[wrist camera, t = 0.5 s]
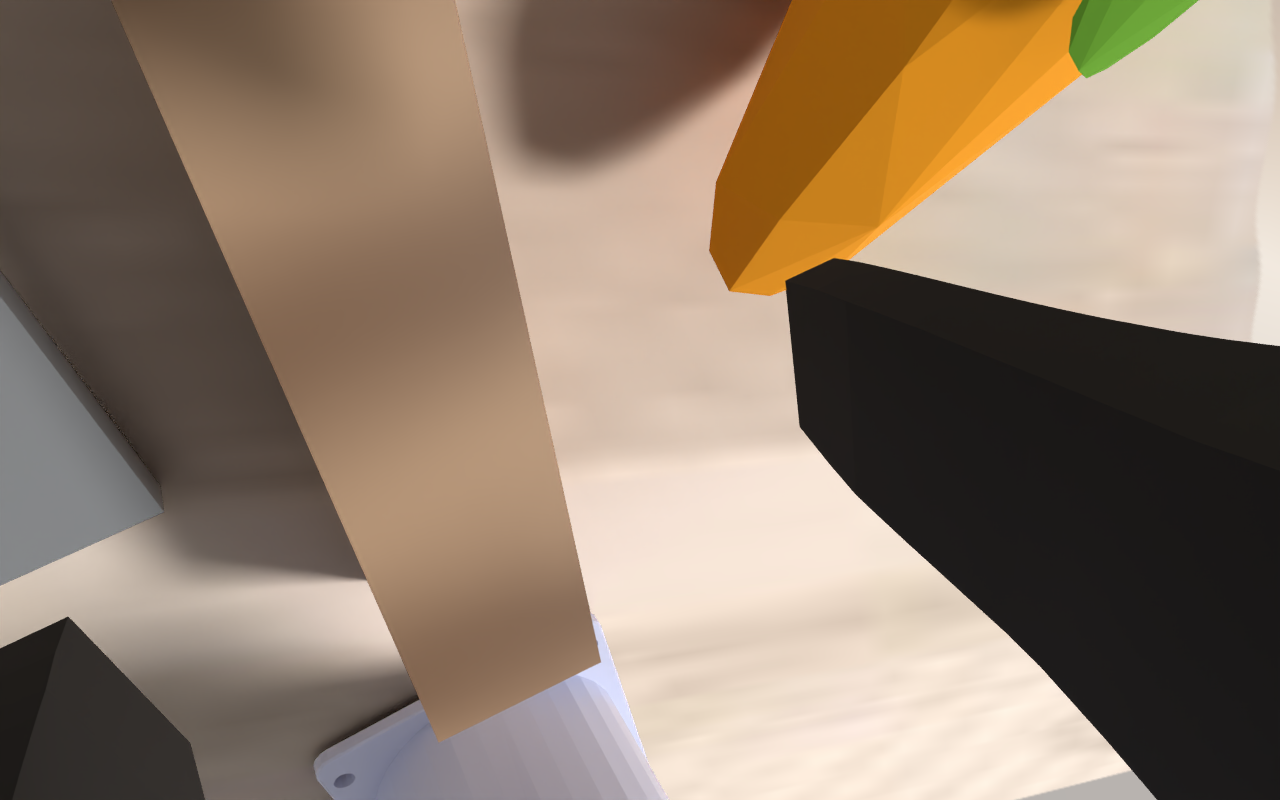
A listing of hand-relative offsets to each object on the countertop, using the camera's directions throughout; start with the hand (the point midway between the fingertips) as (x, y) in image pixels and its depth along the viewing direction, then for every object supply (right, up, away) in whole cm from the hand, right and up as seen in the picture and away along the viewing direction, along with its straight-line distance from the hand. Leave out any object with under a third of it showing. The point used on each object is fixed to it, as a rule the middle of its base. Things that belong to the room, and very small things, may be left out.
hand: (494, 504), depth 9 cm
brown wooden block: (-4, +5, +7) cm, 10 cm away
